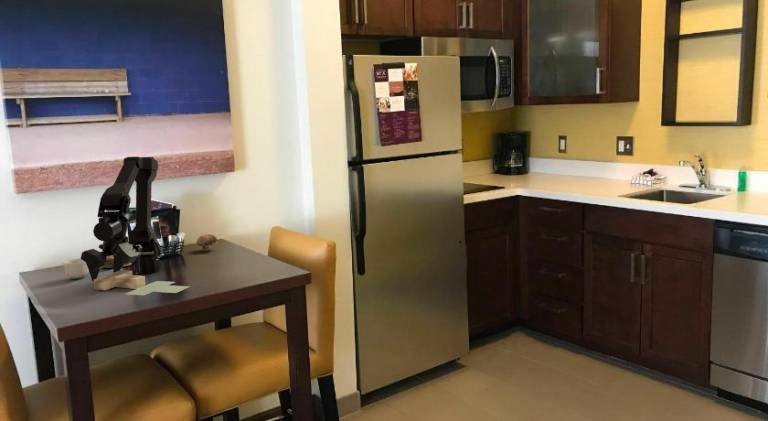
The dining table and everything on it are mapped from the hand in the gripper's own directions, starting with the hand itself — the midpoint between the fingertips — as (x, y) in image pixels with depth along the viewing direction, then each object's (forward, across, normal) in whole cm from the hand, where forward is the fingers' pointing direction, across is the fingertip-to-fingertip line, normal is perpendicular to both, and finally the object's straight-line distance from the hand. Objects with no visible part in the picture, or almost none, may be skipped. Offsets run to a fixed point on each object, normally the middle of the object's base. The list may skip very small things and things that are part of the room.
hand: (104, 277), depth 192 cm
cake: (+8, +24, +14) cm, 29 cm away
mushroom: (0, +52, -4) cm, 52 cm away
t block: (-1, 0, -8) cm, 8 cm away
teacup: (+9, +9, +15) cm, 20 cm away
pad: (-5, 0, -20) cm, 21 cm away
